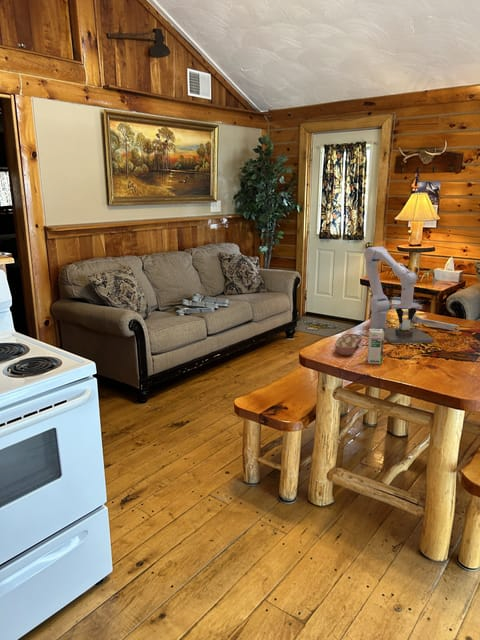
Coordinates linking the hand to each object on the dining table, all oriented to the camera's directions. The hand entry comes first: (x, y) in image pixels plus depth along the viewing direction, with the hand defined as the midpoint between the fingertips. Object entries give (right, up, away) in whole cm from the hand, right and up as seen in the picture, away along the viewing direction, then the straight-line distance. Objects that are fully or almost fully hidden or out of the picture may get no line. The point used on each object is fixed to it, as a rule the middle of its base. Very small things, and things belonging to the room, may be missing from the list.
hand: (404, 322), depth 247 cm
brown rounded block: (-33, -13, -19) cm, 40 cm away
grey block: (0, -3, +1) cm, 3 cm away
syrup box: (-25, -17, -34) cm, 46 cm away
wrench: (+19, -3, +17) cm, 26 cm away
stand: (0, -7, +2) cm, 7 cm away
